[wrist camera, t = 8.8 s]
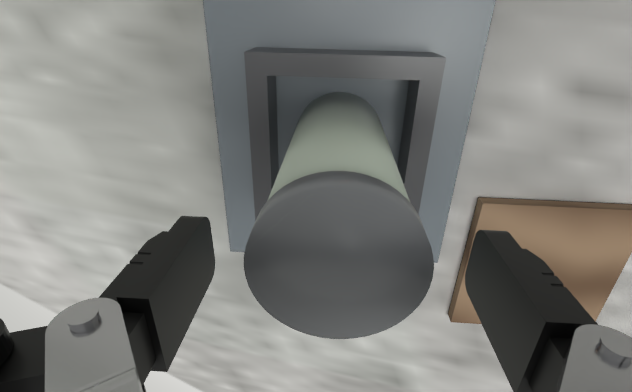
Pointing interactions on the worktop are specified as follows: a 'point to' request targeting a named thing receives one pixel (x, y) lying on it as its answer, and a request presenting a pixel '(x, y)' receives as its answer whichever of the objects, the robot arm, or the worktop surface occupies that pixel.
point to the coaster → (557, 245)
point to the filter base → (344, 89)
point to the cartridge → (339, 229)
